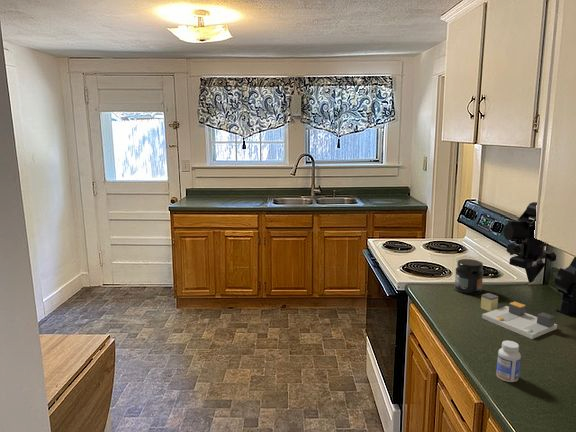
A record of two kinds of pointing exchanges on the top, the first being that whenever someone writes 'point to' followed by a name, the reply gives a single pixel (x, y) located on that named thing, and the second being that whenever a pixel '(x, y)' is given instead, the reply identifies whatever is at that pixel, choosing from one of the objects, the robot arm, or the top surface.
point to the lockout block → (489, 301)
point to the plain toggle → (545, 319)
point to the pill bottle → (508, 361)
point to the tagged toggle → (517, 308)
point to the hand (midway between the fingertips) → (530, 282)
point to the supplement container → (469, 276)
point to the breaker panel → (518, 322)
